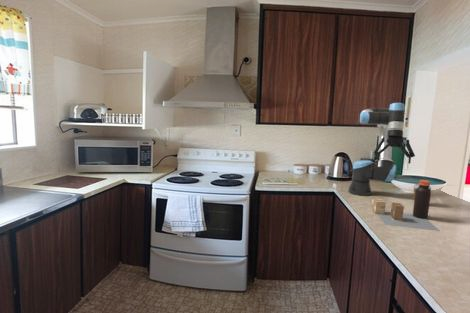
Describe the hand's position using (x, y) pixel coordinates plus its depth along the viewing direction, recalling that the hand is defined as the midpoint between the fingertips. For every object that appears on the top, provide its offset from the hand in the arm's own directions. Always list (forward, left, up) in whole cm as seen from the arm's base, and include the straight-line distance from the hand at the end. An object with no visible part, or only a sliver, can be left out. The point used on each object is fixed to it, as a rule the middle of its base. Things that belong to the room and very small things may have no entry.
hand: (392, 168), depth 152 cm
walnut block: (+10, +1, -26) cm, 28 cm away
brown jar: (-26, +25, -26) cm, 45 cm away
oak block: (+2, -6, -26) cm, 26 cm away
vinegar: (+2, +15, -26) cm, 30 cm away
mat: (+10, +5, -26) cm, 28 cm away
